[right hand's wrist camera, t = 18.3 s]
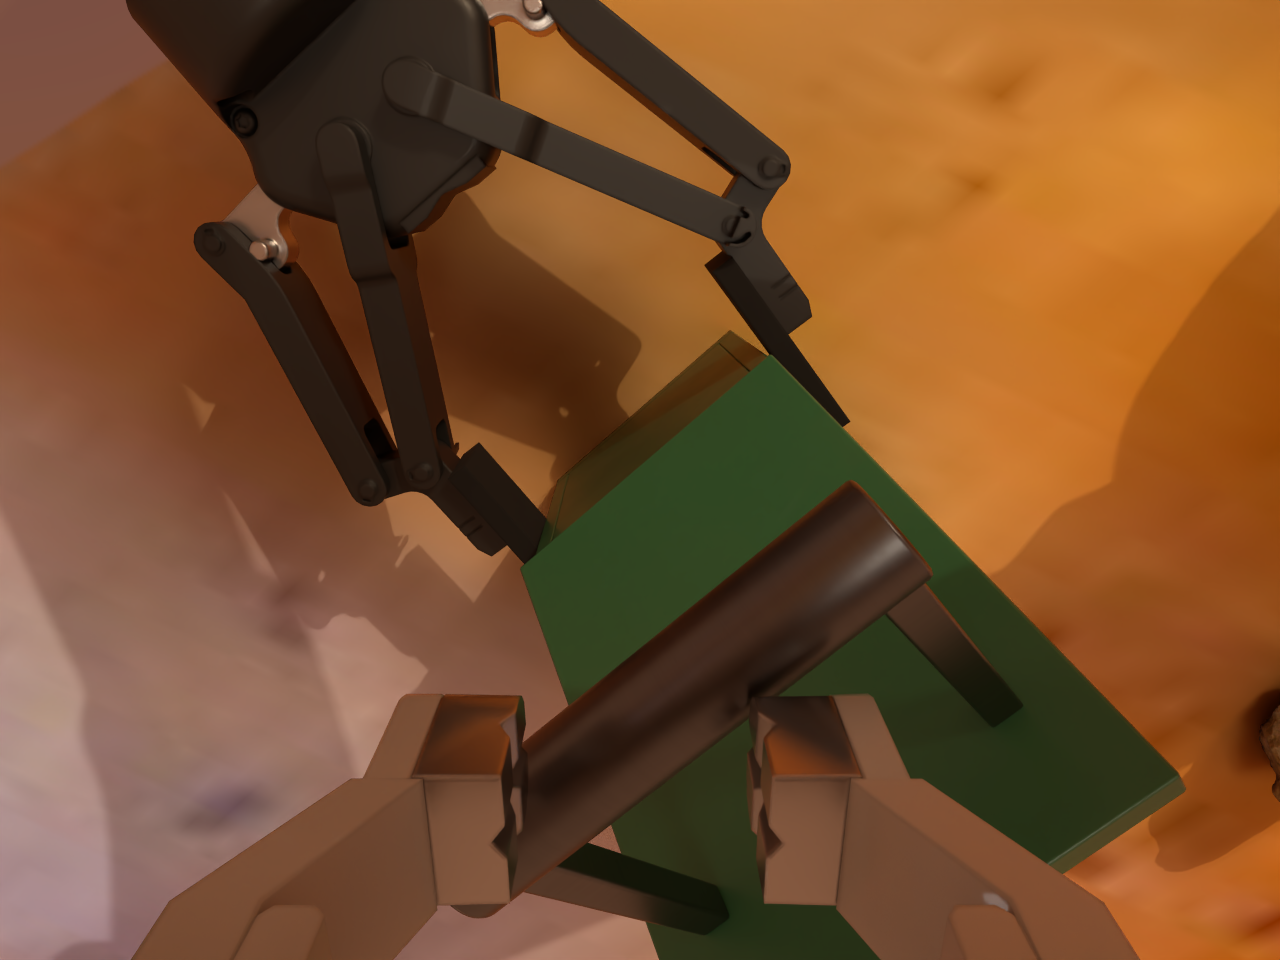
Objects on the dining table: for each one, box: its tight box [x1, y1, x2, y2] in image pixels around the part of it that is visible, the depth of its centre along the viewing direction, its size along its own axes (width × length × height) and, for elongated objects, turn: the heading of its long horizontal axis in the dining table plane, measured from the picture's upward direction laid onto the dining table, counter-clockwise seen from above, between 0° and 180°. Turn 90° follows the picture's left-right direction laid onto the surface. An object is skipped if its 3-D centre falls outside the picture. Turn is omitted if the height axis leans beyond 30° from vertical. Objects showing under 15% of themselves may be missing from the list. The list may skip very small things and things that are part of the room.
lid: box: [450, 355, 1186, 960], centre depth 17 cm, size 14×10×8 cm
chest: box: [536, 330, 767, 554], centre depth 31 cm, size 13×10×10 cm
